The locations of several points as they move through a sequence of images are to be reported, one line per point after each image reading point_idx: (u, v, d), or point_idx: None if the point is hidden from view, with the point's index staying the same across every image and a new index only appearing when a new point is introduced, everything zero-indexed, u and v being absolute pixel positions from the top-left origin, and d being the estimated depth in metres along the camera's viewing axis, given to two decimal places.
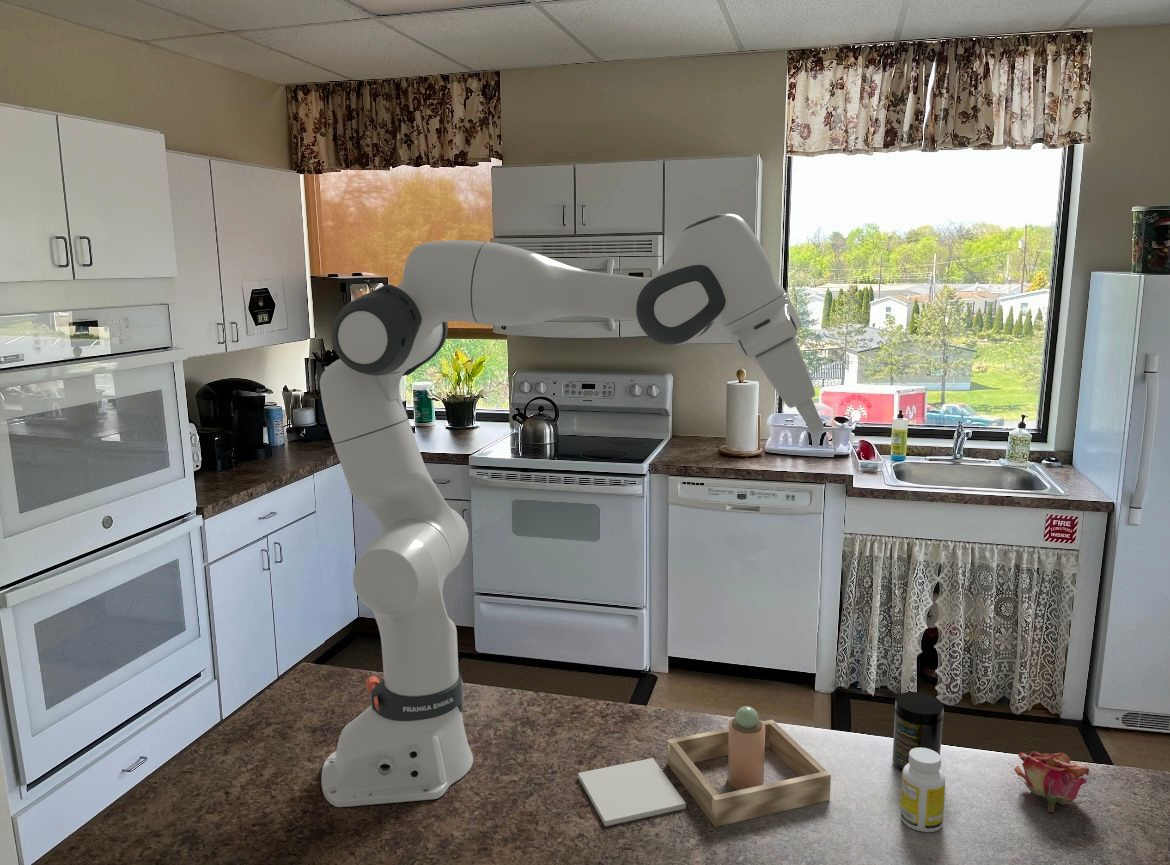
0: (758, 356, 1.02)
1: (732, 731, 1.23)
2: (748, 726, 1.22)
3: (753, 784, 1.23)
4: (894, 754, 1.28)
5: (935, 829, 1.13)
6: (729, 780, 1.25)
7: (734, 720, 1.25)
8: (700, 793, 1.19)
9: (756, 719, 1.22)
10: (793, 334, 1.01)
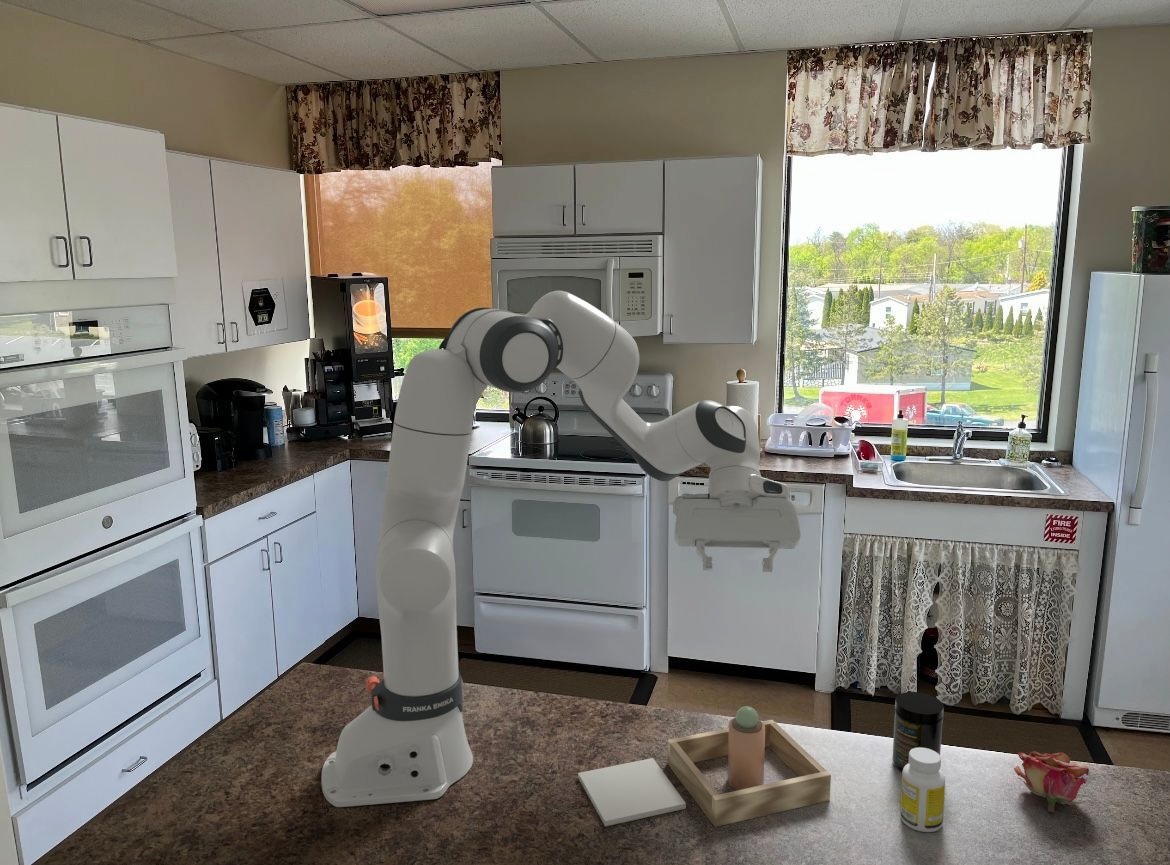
0: (786, 499, 1.39)
1: (732, 731, 1.23)
2: (748, 726, 1.22)
3: (753, 784, 1.23)
4: (894, 754, 1.28)
5: (935, 829, 1.13)
6: (729, 780, 1.25)
7: (734, 720, 1.25)
8: (700, 793, 1.19)
9: (756, 719, 1.22)
10: None
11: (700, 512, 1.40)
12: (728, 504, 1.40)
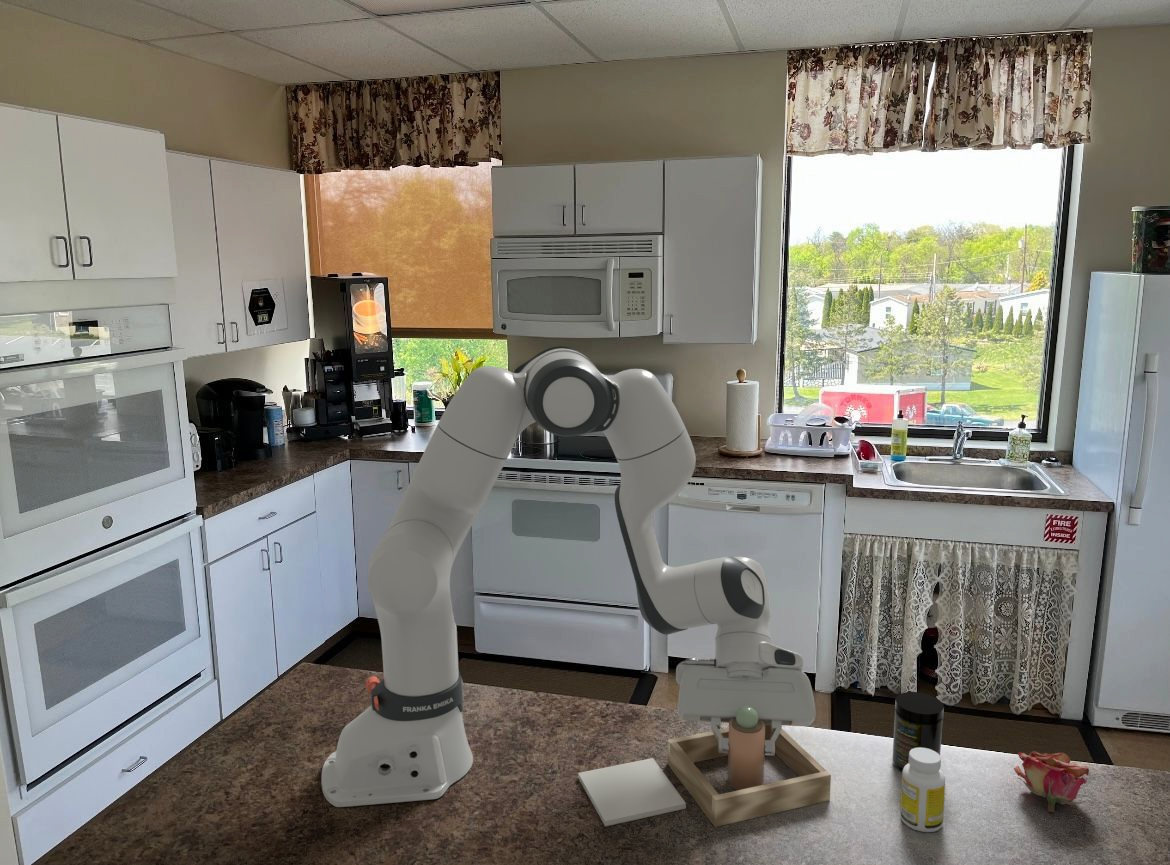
0: None
1: (732, 731, 1.23)
2: (748, 726, 1.22)
3: (753, 784, 1.23)
4: (894, 754, 1.28)
5: (935, 829, 1.13)
6: (729, 780, 1.25)
7: (734, 720, 1.25)
8: (700, 793, 1.19)
9: (756, 719, 1.22)
10: None
11: (706, 684, 1.29)
12: (736, 676, 1.28)
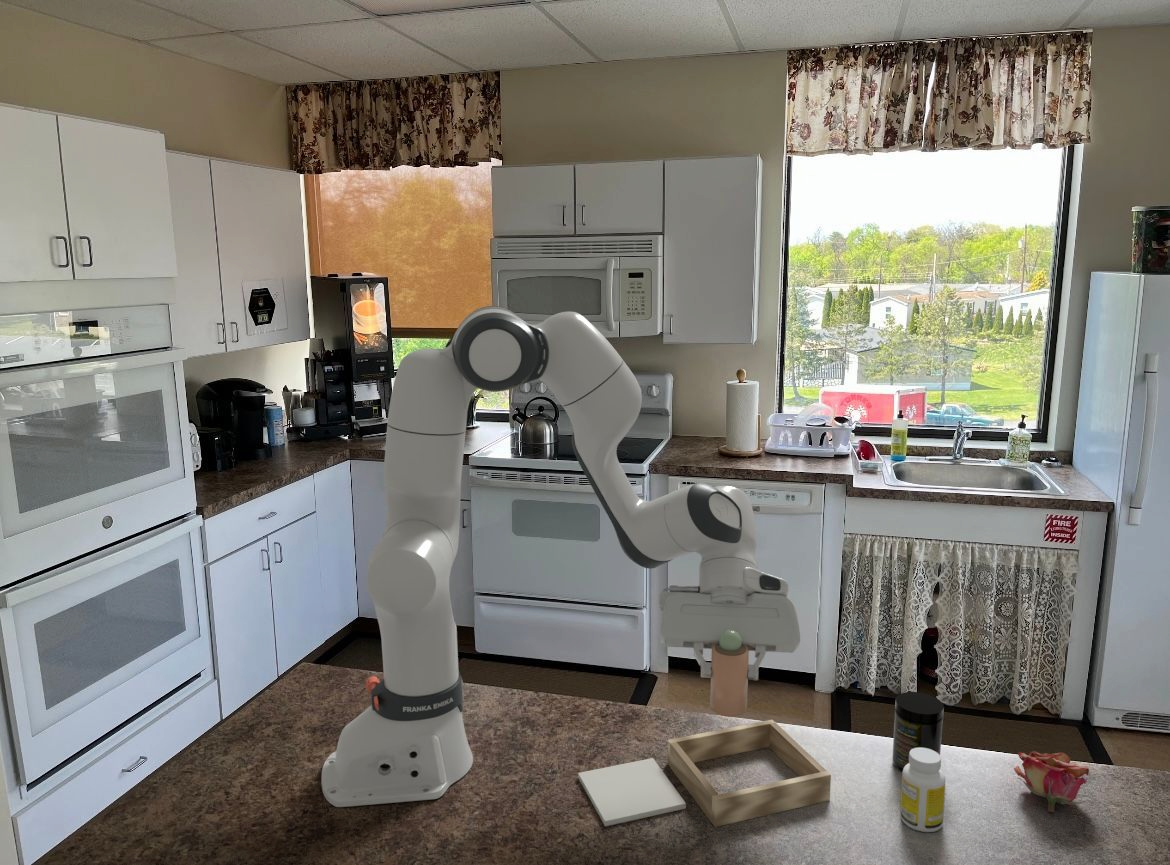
0: (784, 596, 1.25)
1: (714, 654, 1.20)
2: (731, 649, 1.20)
3: (736, 708, 1.20)
4: (894, 754, 1.28)
5: (935, 829, 1.13)
6: (711, 705, 1.22)
7: (717, 644, 1.22)
8: (700, 793, 1.19)
9: (739, 642, 1.20)
10: None
11: (689, 609, 1.26)
12: (720, 601, 1.25)
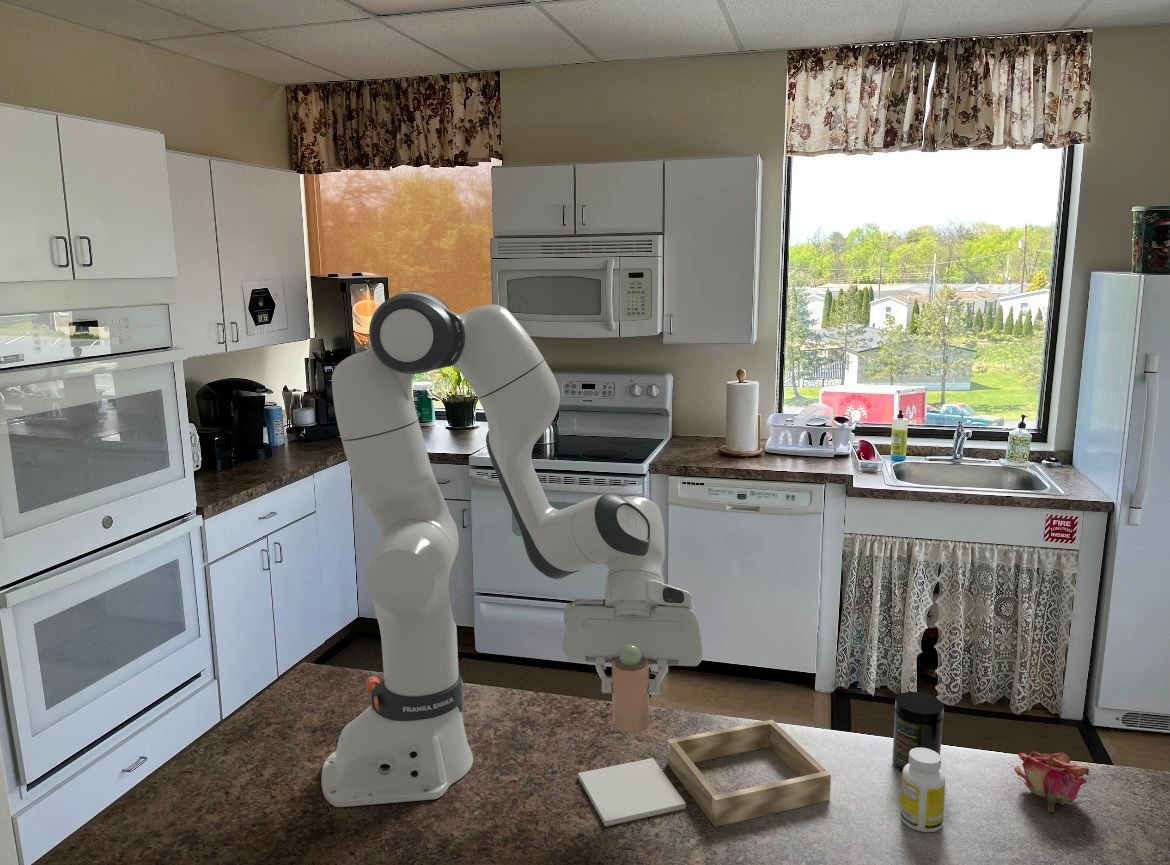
0: None
1: (613, 669, 1.18)
2: (630, 663, 1.18)
3: (636, 724, 1.18)
4: (894, 754, 1.28)
5: (935, 829, 1.13)
6: (613, 721, 1.20)
7: (618, 659, 1.20)
8: (700, 793, 1.19)
9: (638, 656, 1.18)
10: None
11: (592, 623, 1.24)
12: (623, 615, 1.24)
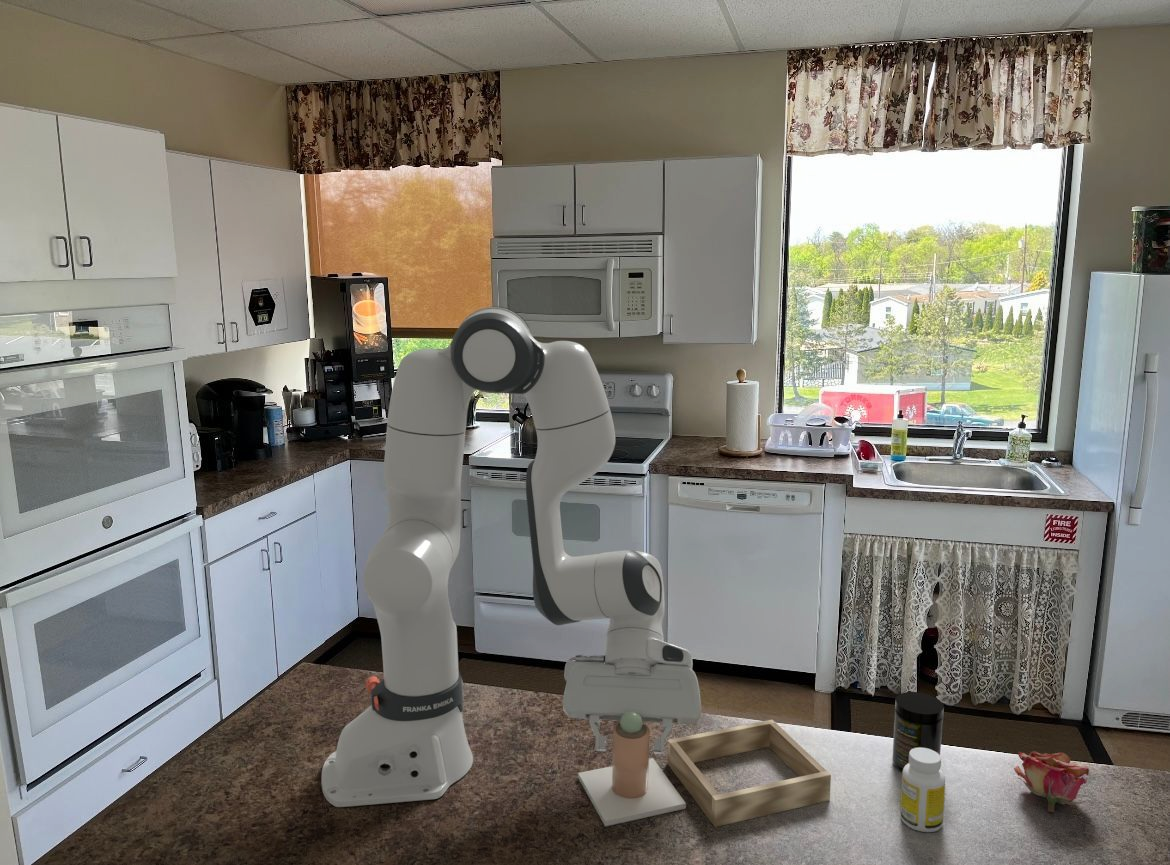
0: (687, 667, 1.25)
1: (615, 736, 1.20)
2: (631, 731, 1.20)
3: (635, 790, 1.20)
4: (894, 754, 1.28)
5: (935, 829, 1.13)
6: (613, 786, 1.22)
7: (619, 725, 1.22)
8: (700, 793, 1.19)
9: (639, 724, 1.20)
10: None
11: (593, 680, 1.26)
12: (623, 672, 1.25)
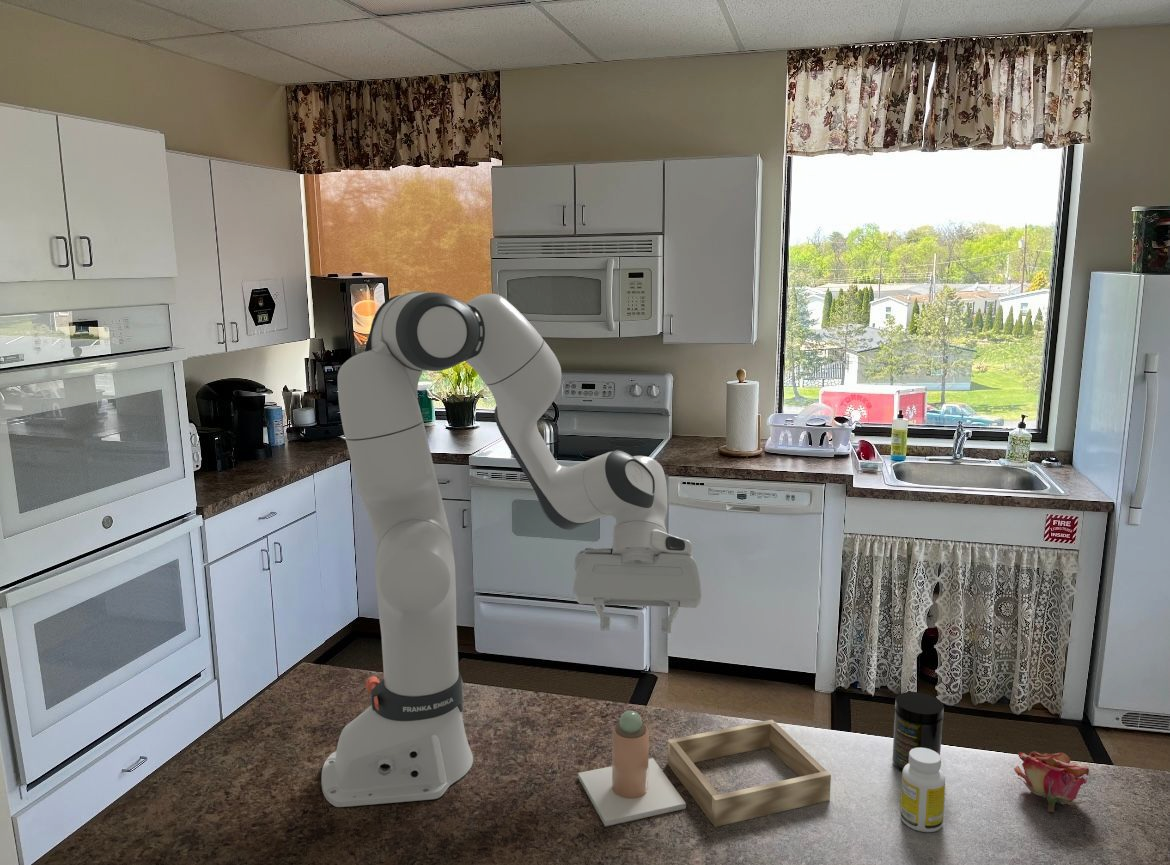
0: (688, 556, 1.35)
1: (614, 736, 1.20)
2: (630, 731, 1.20)
3: (635, 790, 1.20)
4: (894, 754, 1.28)
5: (935, 829, 1.13)
6: (613, 786, 1.22)
7: (618, 725, 1.22)
8: (700, 793, 1.19)
9: (639, 724, 1.20)
10: None
11: (601, 569, 1.36)
12: (629, 561, 1.35)
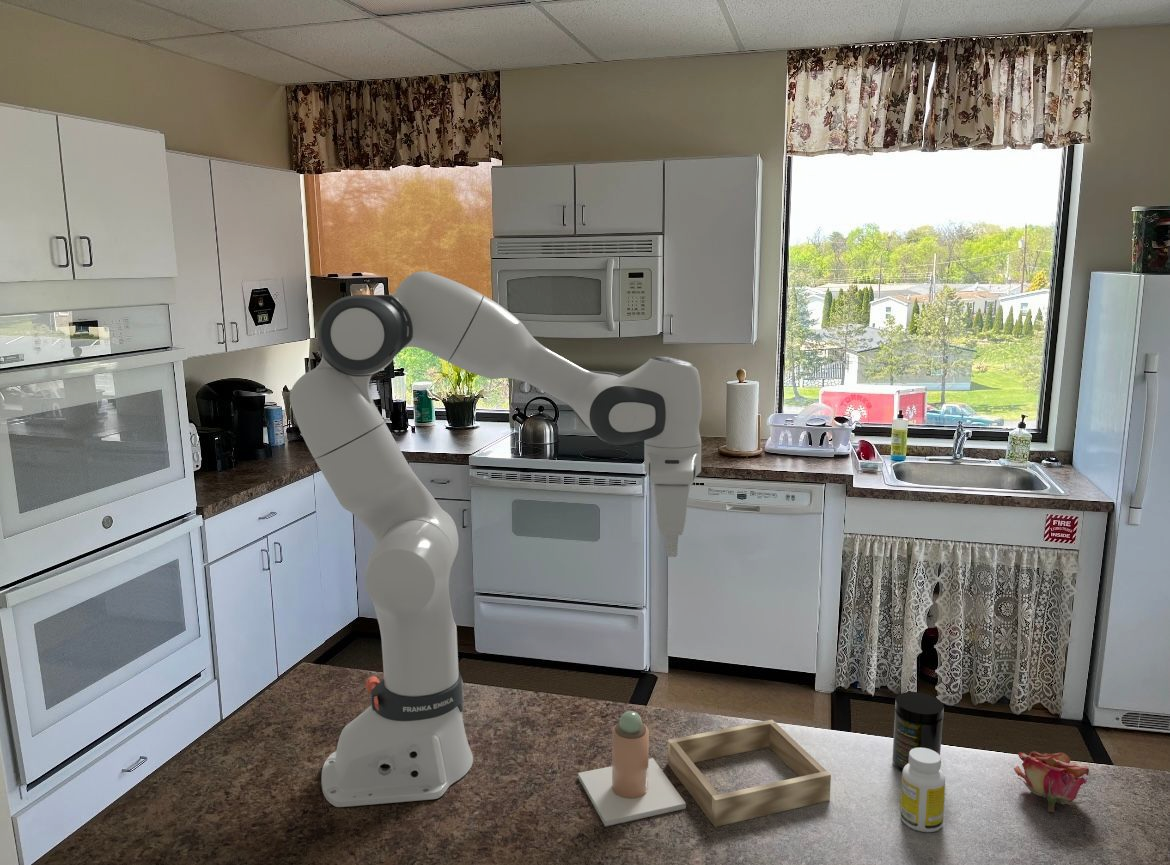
0: (657, 485, 1.25)
1: (614, 737, 1.20)
2: (630, 731, 1.20)
3: (636, 790, 1.20)
4: (894, 754, 1.28)
5: (935, 829, 1.13)
6: (613, 786, 1.22)
7: (618, 725, 1.22)
8: (700, 793, 1.19)
9: (639, 724, 1.20)
10: (690, 483, 1.25)
11: None
12: None
